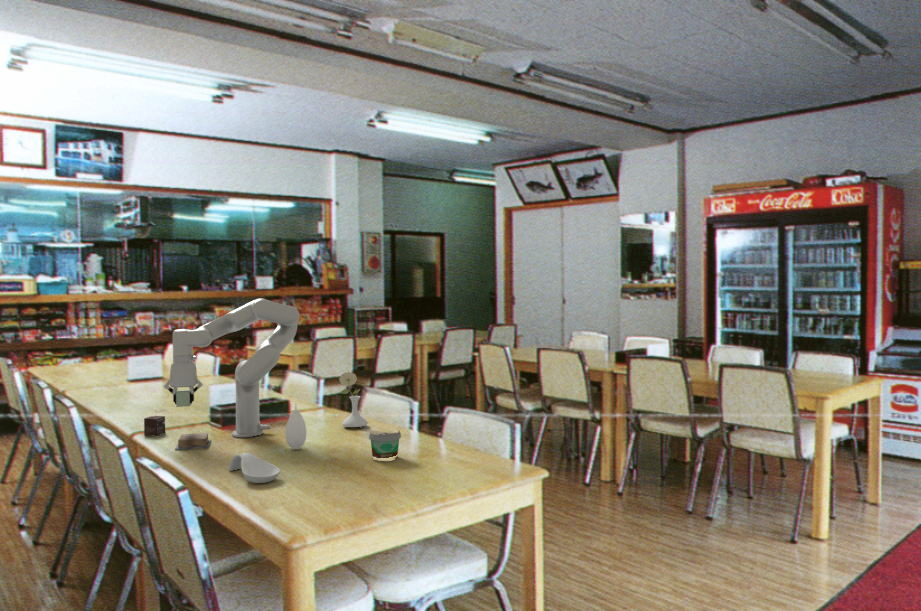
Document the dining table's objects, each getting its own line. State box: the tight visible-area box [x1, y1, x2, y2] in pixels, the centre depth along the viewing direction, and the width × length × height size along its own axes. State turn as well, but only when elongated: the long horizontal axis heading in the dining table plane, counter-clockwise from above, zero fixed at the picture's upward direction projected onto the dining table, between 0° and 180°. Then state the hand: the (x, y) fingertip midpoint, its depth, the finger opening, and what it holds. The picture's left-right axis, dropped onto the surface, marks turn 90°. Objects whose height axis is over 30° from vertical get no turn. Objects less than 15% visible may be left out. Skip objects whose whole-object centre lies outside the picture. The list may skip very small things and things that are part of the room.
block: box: [175, 389, 192, 408], centre depth 268 cm, size 5×5×6 cm
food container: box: [368, 430, 402, 458], centre depth 240 cm, size 12×6×10 cm, turn 118°
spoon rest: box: [228, 452, 281, 484], centre depth 219 cm, size 24×12×7 cm, turn 48°
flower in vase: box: [338, 371, 368, 428], centre depth 293 cm, size 13×11×25 cm
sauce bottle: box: [284, 404, 307, 450], centre depth 254 cm, size 8×8×18 cm
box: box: [143, 415, 166, 437], centre depth 277 cm, size 6×6×7 cm
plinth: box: [174, 432, 212, 451], centre depth 259 cm, size 12×12×4 cm
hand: (183, 403), depth 268 cm, fingers closed on block, 5 cm apart
